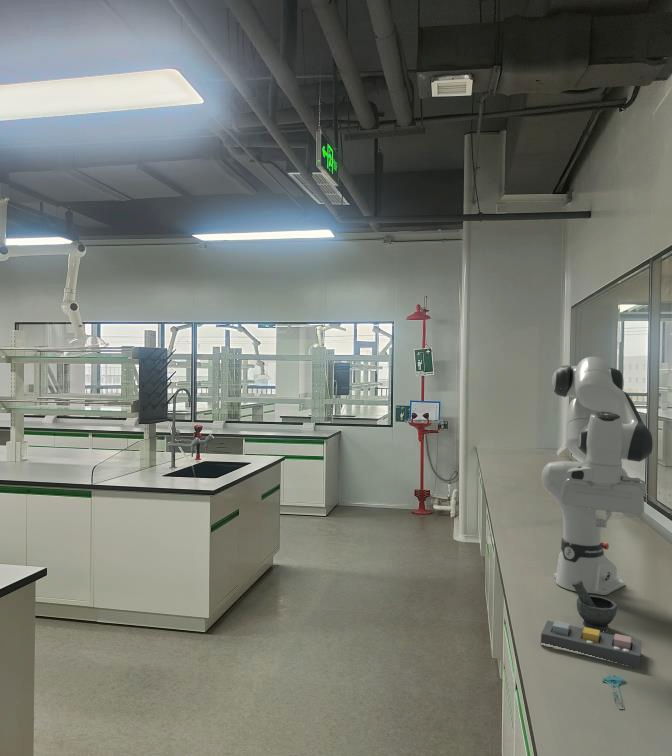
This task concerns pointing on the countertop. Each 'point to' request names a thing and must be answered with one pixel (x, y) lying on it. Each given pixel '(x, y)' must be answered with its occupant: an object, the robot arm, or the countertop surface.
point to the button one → (591, 634)
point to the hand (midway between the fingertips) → (600, 526)
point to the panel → (593, 645)
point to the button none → (561, 628)
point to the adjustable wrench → (614, 681)
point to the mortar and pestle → (594, 608)
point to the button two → (622, 641)
